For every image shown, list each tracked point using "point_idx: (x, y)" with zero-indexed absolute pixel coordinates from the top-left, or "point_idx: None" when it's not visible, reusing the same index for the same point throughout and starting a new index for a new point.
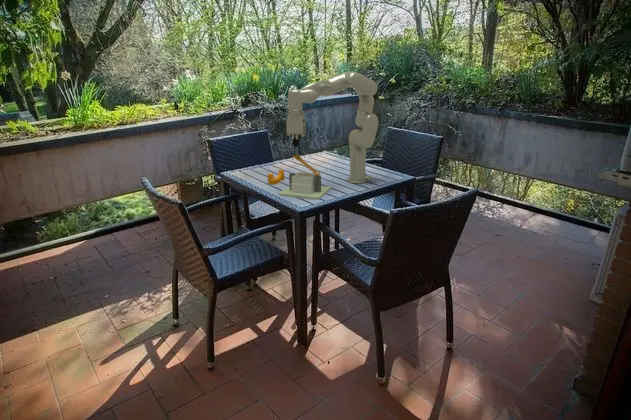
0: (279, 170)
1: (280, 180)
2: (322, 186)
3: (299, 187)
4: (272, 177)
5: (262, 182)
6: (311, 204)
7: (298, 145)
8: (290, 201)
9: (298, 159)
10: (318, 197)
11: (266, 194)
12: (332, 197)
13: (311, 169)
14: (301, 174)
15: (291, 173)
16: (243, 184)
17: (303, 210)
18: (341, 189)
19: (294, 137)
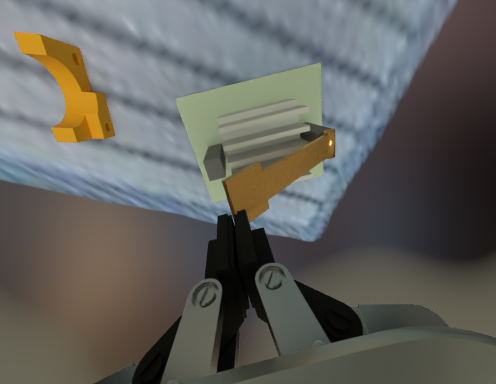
0: (28, 54)
1: (85, 77)
2: (289, 73)
3: None
4: (84, 130)
5: None
6: (318, 205)
7: (245, 210)
8: (266, 215)
9: (264, 204)
10: (322, 174)
11: (180, 211)
12: (348, 138)
13: (314, 165)
14: (245, 145)
15: (211, 170)
16: (35, 185)
17: (317, 235)
18: (353, 45)
19: (232, 331)
